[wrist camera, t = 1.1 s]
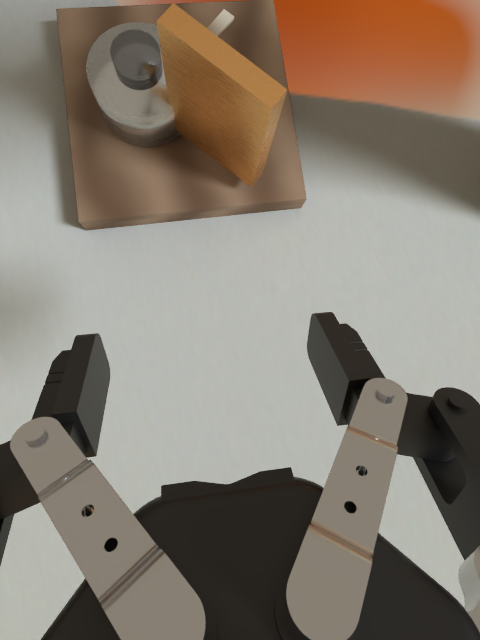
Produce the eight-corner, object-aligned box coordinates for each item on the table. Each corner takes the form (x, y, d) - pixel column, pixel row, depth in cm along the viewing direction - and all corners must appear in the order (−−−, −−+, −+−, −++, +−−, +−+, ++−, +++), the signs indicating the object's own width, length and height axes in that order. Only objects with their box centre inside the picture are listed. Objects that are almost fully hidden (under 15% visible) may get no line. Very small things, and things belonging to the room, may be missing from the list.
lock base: (269, 18, 37) (273, -4, 35) (300, 207, 35) (307, 197, 33) (64, 28, 35) (54, 5, 33) (86, 230, 33) (77, 220, 31)
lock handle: (81, 108, 32) (17, -21, 21) (140, 45, 33) (107, -108, 22) (228, 219, 32) (239, 148, 21) (281, 153, 33) (318, 52, 22)
